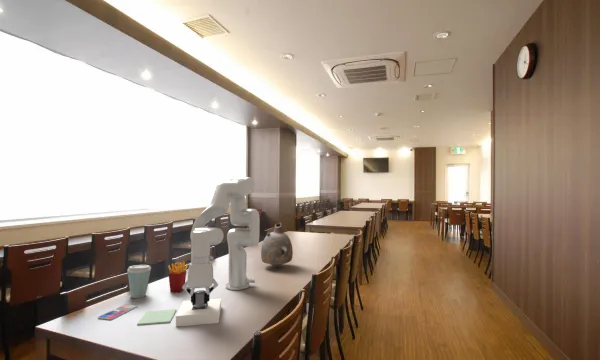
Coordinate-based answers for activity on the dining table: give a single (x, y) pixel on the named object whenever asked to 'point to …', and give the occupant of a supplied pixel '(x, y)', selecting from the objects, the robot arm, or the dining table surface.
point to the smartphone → (117, 312)
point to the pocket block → (198, 313)
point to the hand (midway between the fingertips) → (200, 303)
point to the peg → (200, 300)
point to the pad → (157, 317)
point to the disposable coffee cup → (138, 280)
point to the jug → (276, 247)
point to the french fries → (177, 277)
